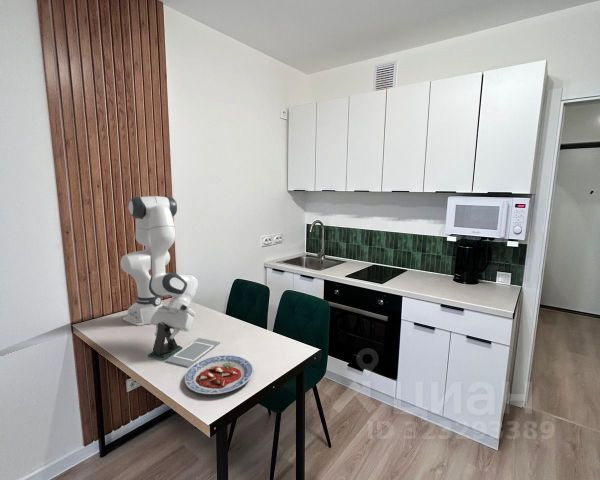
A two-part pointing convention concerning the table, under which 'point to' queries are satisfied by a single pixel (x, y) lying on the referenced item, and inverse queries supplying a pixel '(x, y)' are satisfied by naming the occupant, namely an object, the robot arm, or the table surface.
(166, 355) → the ink pad
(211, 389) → the ceramic plate
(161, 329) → the phone stand
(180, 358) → the marked board
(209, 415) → the table surface
